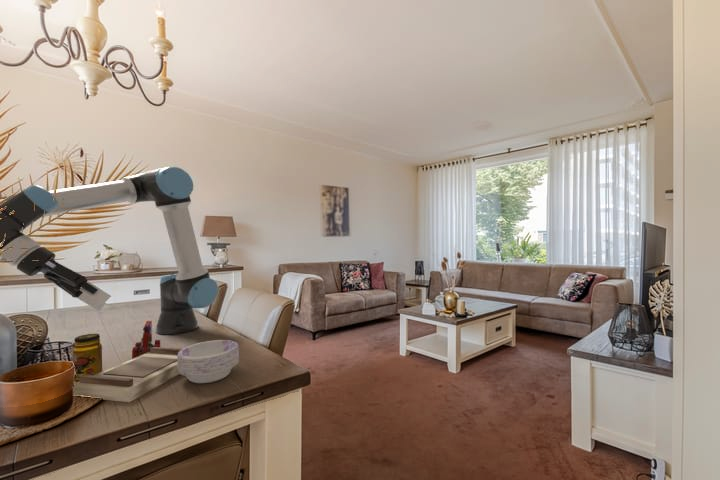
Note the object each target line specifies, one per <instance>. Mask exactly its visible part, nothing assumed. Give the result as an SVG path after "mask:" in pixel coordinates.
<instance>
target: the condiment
mask: <svg viewBox="0 0 720 480" xmlns="http://www.w3.org/2000/svg"><path fill="white" fill-rule="evenodd" d="M73 363H74V365H75V372H76V377H75V382H79V381H80V376H82V375H96V374H98V373H100V372H103V371H105V370H106V369H105V370H103V345H102V343H101V339H100V334H99V333H88V334H82V335H79V336H76V337H74V347H73V349H72V364H73Z"/></svg>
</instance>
